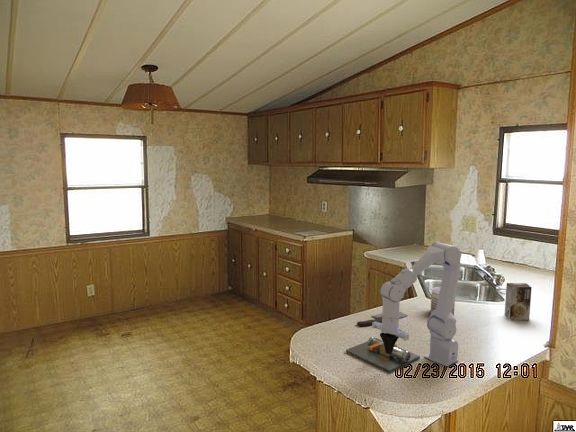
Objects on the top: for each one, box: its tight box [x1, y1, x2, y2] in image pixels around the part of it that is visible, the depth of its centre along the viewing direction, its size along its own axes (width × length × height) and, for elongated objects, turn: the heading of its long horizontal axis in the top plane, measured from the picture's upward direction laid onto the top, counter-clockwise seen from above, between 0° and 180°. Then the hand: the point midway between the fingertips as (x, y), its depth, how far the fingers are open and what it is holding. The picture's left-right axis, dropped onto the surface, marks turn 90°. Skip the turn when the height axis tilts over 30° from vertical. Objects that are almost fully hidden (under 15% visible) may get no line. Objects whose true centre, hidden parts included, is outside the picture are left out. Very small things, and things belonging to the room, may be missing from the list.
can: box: [430, 286, 456, 317], centre depth 210 cm, size 11×11×12 cm
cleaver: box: [356, 311, 408, 328], centre depth 203 cm, size 29×10×2 cm, turn 124°
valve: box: [345, 336, 421, 374], centre depth 166 cm, size 21×18×6 cm
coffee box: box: [504, 282, 532, 321], centre depth 205 cm, size 9×6×16 cm
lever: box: [369, 342, 384, 351], centre depth 161 cm, size 12×2×1 cm, turn 129°
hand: (388, 352), depth 155 cm, fingers closed
